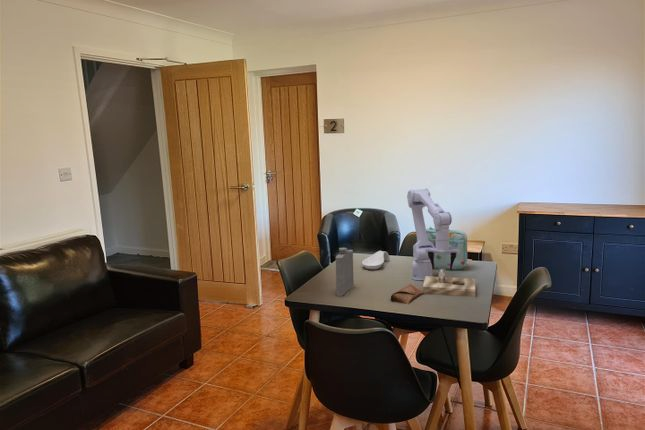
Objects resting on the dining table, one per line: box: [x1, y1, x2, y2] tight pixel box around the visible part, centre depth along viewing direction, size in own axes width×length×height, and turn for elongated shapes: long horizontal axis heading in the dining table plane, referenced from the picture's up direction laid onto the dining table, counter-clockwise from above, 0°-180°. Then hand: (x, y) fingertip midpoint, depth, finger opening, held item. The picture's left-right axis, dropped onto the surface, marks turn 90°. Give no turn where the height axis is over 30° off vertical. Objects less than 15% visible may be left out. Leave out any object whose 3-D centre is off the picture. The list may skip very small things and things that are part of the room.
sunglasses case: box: [390, 283, 426, 305], centre depth 197 cm, size 18×7×7 cm, turn 144°
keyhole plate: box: [422, 276, 476, 298], centre depth 205 cm, size 22×16×3 cm
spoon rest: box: [361, 250, 391, 271], centre depth 249 cm, size 24×12×7 cm, turn 149°
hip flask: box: [335, 247, 355, 297], centre depth 207 cm, size 16×4×20 cm, turn 156°
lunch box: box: [416, 226, 468, 271], centre depth 240 cm, size 27×10×21 cm, turn 67°
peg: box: [438, 268, 446, 283], centre depth 205 cm, size 4×4×9 cm
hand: (442, 268), depth 205 cm, fingers open, 7 cm apart
